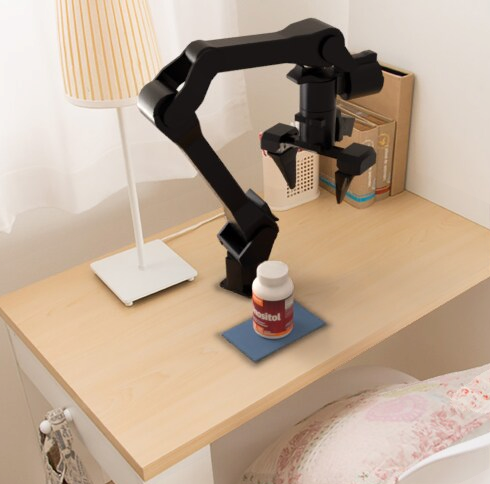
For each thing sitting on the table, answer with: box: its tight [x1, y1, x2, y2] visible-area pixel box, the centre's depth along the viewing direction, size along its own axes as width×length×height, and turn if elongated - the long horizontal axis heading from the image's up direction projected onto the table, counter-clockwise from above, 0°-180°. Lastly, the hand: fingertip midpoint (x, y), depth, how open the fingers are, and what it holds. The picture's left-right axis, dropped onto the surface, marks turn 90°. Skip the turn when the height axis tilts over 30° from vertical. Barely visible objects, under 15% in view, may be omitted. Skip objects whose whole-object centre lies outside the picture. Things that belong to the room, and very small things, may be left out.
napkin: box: [221, 299, 327, 364], centre depth 116 cm, size 14×8×1 cm, turn 129°
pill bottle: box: [252, 260, 295, 339], centre depth 112 cm, size 6×6×11 cm
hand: (315, 195), depth 124 cm, fingers open, 9 cm apart
